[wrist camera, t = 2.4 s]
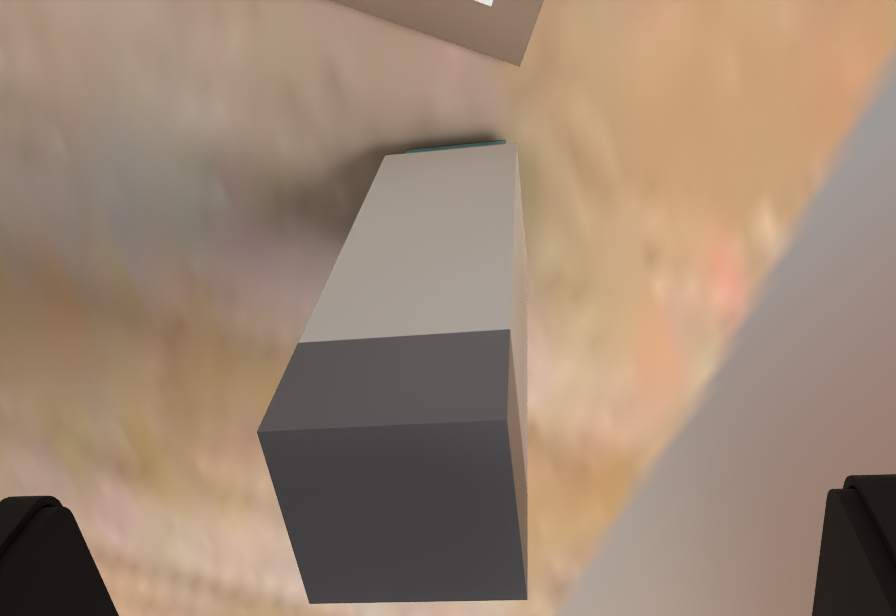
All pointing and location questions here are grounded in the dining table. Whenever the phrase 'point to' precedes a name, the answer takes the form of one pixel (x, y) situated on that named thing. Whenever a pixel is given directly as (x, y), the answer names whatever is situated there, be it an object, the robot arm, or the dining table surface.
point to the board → (464, 22)
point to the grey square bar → (413, 392)
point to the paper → (485, 2)
